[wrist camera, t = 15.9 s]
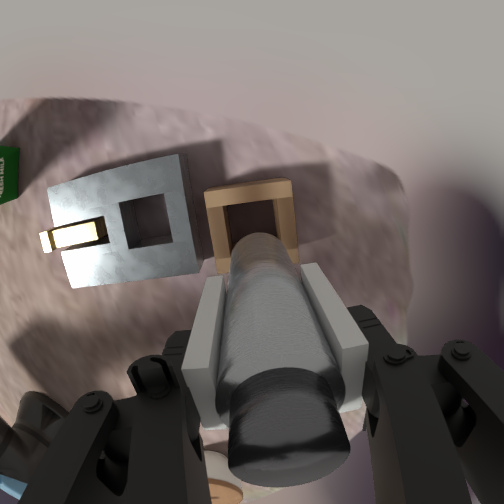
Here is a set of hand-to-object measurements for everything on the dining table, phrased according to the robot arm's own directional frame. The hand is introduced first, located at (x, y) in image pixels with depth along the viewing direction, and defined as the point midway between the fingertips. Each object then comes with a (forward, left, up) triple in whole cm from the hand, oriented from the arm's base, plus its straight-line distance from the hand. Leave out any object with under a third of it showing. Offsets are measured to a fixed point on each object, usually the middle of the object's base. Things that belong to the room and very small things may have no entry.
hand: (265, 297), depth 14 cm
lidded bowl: (-14, -44, -20) cm, 50 cm away
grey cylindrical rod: (0, 0, -5) cm, 5 cm away
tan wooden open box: (0, 0, -19) cm, 19 cm away
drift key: (-21, +2, -19) cm, 29 cm away
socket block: (-13, +2, -19) cm, 23 cm away
